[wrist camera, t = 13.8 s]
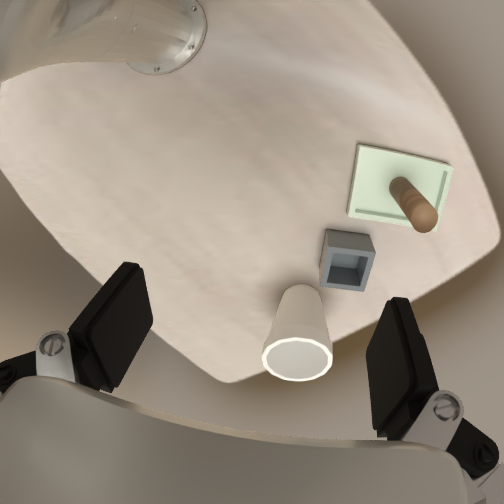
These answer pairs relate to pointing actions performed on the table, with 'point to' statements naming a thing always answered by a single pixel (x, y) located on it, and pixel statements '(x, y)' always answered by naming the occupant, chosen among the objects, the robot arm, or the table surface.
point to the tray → (380, 176)
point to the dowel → (413, 205)
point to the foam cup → (298, 337)
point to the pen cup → (346, 260)
